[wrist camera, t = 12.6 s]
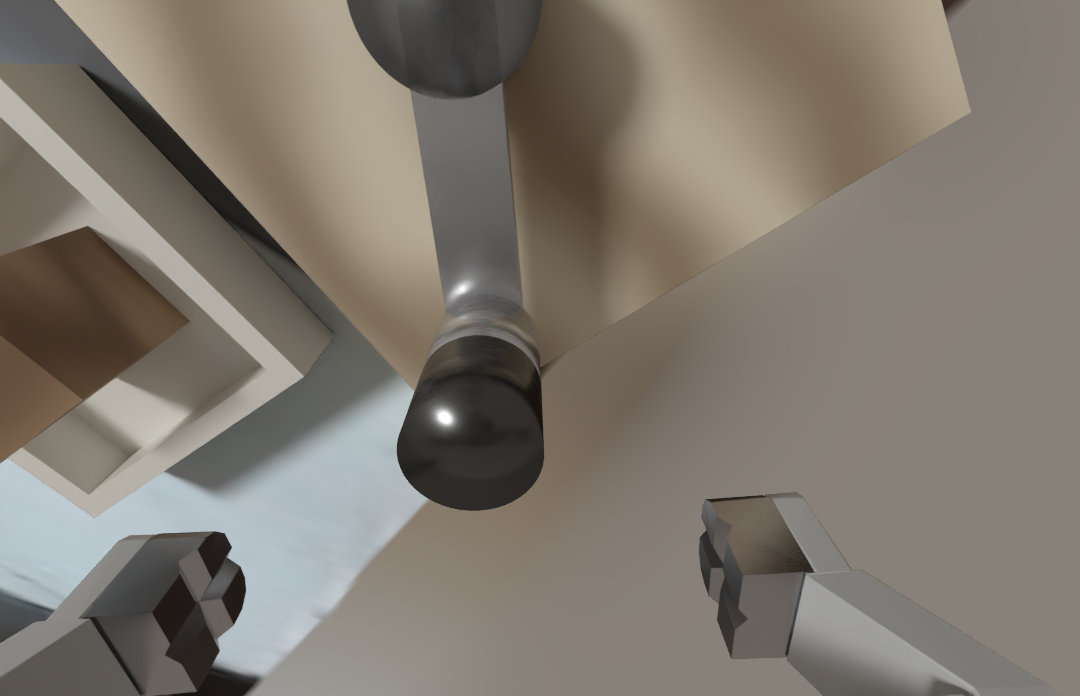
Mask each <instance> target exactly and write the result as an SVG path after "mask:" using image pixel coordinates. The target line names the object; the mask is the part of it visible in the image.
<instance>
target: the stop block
mask: <svg viewBox="0 0 1080 696" xmlns="http://www.w3.org/2000/svg"><path fill="white" fill-rule="evenodd" d="M188 322H190V321H189V320H188V319H187V318H186V317H185V316H184V315H183V314H182V313H181V312H180V311H179V310H178V309H177V308H175V307H174V306H173V305H172V304H171V303H170V302H169V301H168V300H167V299H166V298H165V297H164V296H163V295H162V294H160V293H159V292H158V291H157V290H156V289H155V288H154V287H153V286H152V285H151V284H150V283H149V282H148V281H146V280H145V279H144V278H143V277H142V276H141V275H140V274H139V273H138V272H137V271H136V270H135V269H134V268H132V267H131V266H130V265H129V264H128V263H127V262H126V261H125V260H124V259H123V258H122V257H121V256H120V255H118V254H117V253H116V252H115V251H114V250H113V249H112V248H111V247H110V246H109V245H108V244H107V243H106V242H104V241H103V240H102V239H101V238H100V237H99V236H98V235H97V234H96V233H95V232H94V231H93V230H92V229H90V228H89V227H88V226H86V227H83V228H80V229H77V230H74V231H71V232H68V233H65V234H62V235H59V236H57V237H54V238H51V239H48V240H45V241H42V242H39V243H36V244H33V245H31V246H28V247H25V248H22V249H19V250H16V251H13V252H10V253H7V254H5V255H2V256H0V463H1V462H3V461H4V460H5V459H7V458H8V457H9V456H11V455H12V454H13V453H15V452H16V451H17V450H19V449H20V448H22V447H23V446H24V445H26V444H27V443H28V442H30V441H31V440H32V439H34V438H35V437H36V436H38V435H39V434H40V433H42V432H43V431H45V430H46V429H47V428H49V427H50V426H51V425H53V424H54V423H55V422H57V421H58V420H59V419H61V418H62V417H64V416H65V415H66V414H68V413H69V412H70V411H72V410H73V409H74V408H76V407H77V406H78V405H80V404H81V403H82V402H84V401H85V400H87V399H88V398H89V397H91V396H92V395H93V394H95V393H96V392H97V391H99V390H100V389H101V388H103V387H104V386H106V385H107V384H108V383H110V382H111V381H112V380H114V379H115V378H116V377H118V376H119V375H120V374H122V373H123V372H124V371H126V370H127V369H128V368H129V367H131V366H132V365H133V364H135V363H136V362H137V361H139V360H140V359H141V358H143V357H144V356H145V355H146V354H148V353H149V352H150V351H152V350H153V349H154V348H156V347H157V346H158V345H160V344H161V343H162V342H164V341H165V340H166V339H167V338H169V337H170V336H171V335H173V334H174V333H175V332H177V331H178V330H179V329H181V328H182V327H183V326H184V325H186V324H187V323H188Z"/></svg>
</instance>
